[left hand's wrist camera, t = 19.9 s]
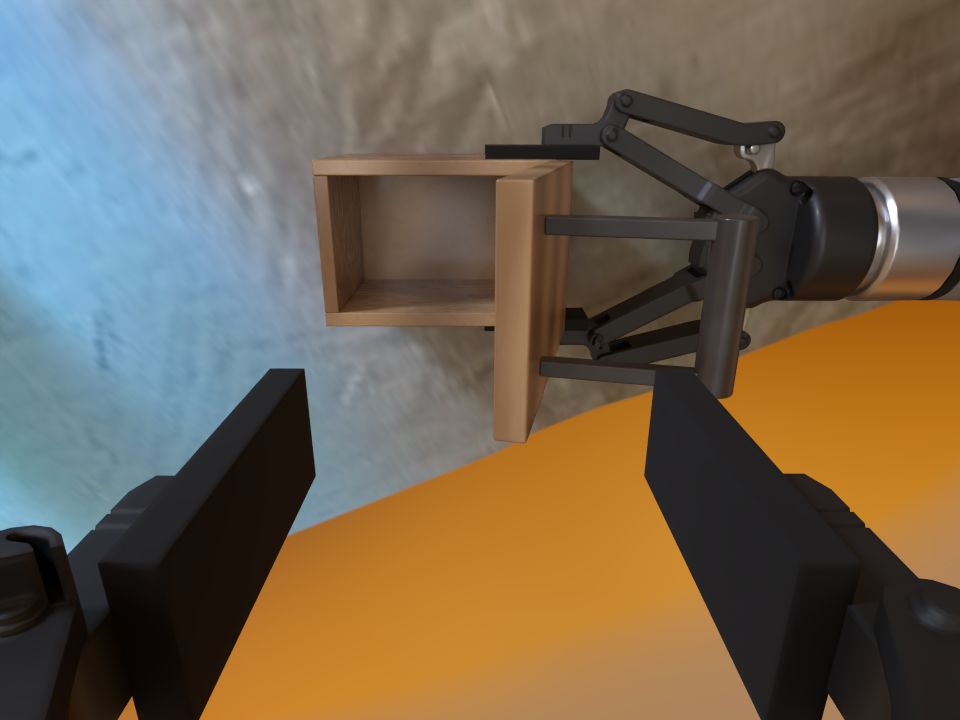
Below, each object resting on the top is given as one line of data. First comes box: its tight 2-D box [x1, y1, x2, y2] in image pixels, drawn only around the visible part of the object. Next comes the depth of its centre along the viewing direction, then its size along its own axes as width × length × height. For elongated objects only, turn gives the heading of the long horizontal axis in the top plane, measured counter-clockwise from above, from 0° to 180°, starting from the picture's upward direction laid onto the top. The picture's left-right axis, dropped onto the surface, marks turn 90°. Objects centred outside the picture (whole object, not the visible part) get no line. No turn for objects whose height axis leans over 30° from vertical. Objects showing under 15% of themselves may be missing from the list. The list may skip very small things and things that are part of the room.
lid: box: [493, 161, 760, 443], centre depth 27 cm, size 14×10×9 cm
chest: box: [312, 154, 559, 326], centre depth 40 cm, size 14×10×10 cm
